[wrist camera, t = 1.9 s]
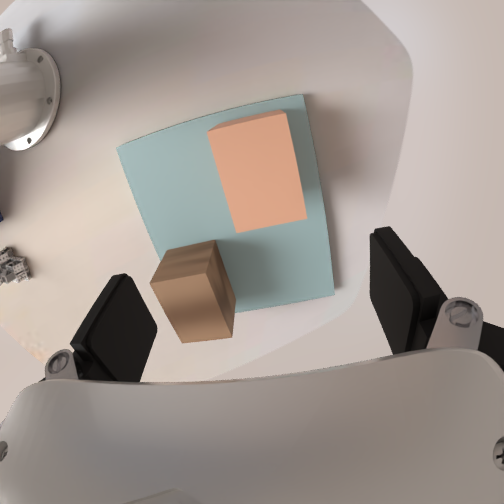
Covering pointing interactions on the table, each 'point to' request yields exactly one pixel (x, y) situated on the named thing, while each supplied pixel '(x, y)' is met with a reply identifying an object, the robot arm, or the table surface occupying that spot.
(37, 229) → the table surface
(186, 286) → the walnut brick
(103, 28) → the table surface
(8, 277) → the miniature building cluster
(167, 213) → the board
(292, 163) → the terracotta brick
